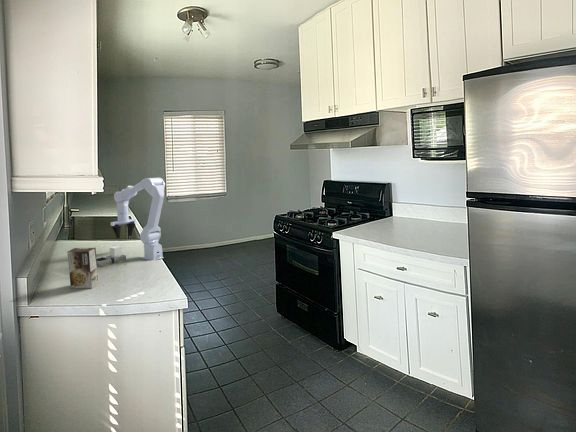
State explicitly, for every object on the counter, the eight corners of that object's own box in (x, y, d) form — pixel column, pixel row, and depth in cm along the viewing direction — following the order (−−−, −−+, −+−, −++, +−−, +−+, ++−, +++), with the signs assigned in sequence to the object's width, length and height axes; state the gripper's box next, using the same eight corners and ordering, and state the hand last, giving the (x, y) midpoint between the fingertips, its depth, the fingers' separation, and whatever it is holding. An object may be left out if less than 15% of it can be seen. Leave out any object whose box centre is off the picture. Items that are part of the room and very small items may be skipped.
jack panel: (127, 261, 205) (127, 255, 204) (99, 268, 191) (99, 262, 191) (117, 258, 209) (117, 253, 209) (88, 265, 196) (88, 259, 195)
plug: (121, 260, 204) (121, 247, 203) (115, 261, 201) (114, 248, 200) (116, 258, 207) (115, 245, 206) (109, 260, 203) (108, 247, 202)
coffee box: (98, 283, 168) (96, 247, 166) (91, 288, 162) (89, 251, 159) (77, 283, 168) (74, 247, 165) (69, 288, 161) (66, 251, 159)
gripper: (129, 210, 224) (130, 233, 226) (106, 213, 212) (108, 238, 214) (137, 211, 220) (138, 235, 222) (114, 214, 208) (115, 239, 210)
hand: (124, 236), depth 218 cm, fingers open, 7 cm apart
